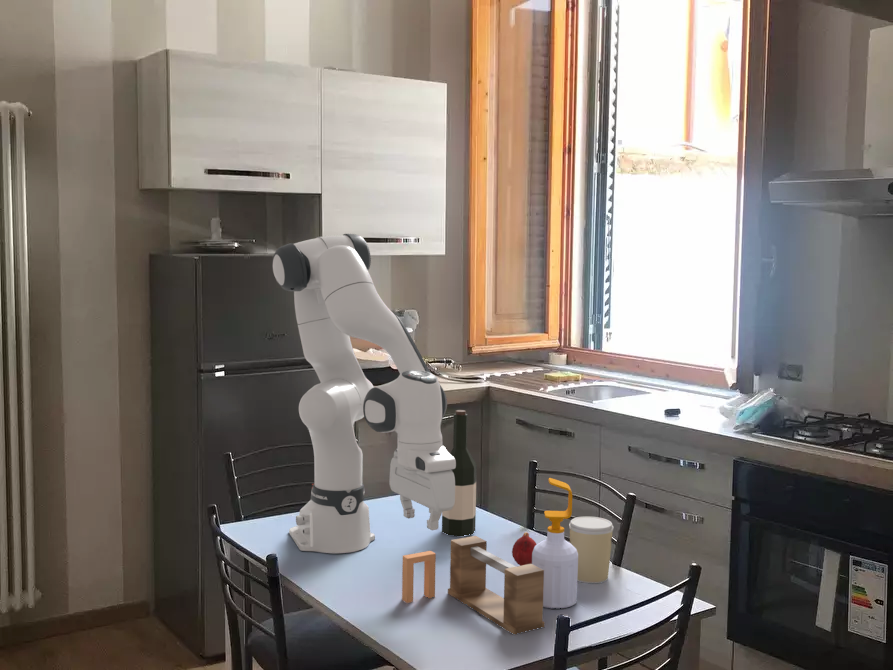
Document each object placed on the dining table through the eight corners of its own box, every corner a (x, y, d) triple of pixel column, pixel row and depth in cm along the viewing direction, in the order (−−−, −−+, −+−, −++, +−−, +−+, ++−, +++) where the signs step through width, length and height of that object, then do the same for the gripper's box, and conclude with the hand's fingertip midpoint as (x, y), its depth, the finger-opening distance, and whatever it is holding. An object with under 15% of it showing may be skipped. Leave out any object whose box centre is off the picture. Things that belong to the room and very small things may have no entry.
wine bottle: (454, 524, 238) (456, 406, 235) (482, 530, 233) (484, 410, 230) (434, 532, 231) (436, 411, 228) (462, 539, 226) (465, 415, 223)
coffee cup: (620, 579, 201) (622, 524, 200) (587, 588, 196) (589, 531, 195) (591, 566, 209) (593, 513, 208) (558, 574, 204) (560, 519, 202)
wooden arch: (402, 599, 188) (402, 555, 187) (429, 593, 191) (430, 550, 190) (406, 603, 186) (407, 558, 185) (434, 597, 189) (435, 553, 188)
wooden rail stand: (447, 593, 192) (448, 540, 190) (476, 587, 195) (477, 535, 194) (513, 634, 172) (515, 576, 171) (544, 627, 176) (546, 569, 174)
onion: (536, 574, 204) (537, 537, 203) (510, 571, 205) (511, 535, 204) (539, 565, 209) (540, 529, 208) (513, 562, 210) (514, 527, 210)
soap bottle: (529, 591, 193) (532, 473, 191) (574, 593, 193) (578, 474, 190) (532, 608, 184) (535, 485, 182) (579, 610, 184) (583, 486, 182)
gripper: (381, 446, 193) (382, 513, 194) (431, 466, 175) (432, 539, 176) (408, 443, 196) (409, 508, 197) (460, 462, 178) (461, 533, 180)
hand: (420, 523), depth 187 cm, fingers open, 8 cm apart
